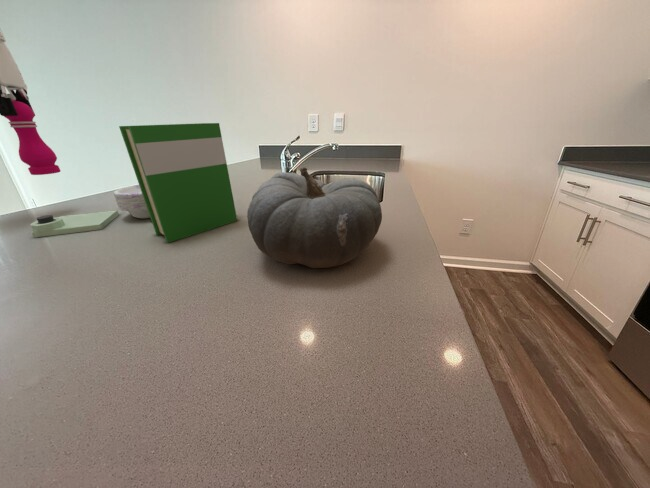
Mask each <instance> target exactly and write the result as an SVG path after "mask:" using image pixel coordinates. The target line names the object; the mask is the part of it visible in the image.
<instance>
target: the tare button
mask: <svg viewBox="0 0 650 488" xmlns="http://www.w3.org/2000/svg"><path fill="white" fill-rule="evenodd" d="M54 218H55V217H53V215H52V214H46V215H40V216H37V217H36V221H38V222H39V224H45V223H49V222H53V221H55V220H54Z"/></svg>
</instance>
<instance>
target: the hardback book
mask: <svg viewBox="0 0 650 488" xmlns="http://www.w3.org/2000/svg"><path fill="white" fill-rule="evenodd" d="M220 126H221V125H220V123H219V122H207V123H206V122H202V123H201V122H199V123H198V122H197V123H174V124H173V123H172V124H170V123H169V124H146V125H144V124H143V125H142V124H141V125H119V126H118V128H119V130H120V133H121V136H122V139H123V142H124V145H125V148H126V152H127V153H128V156H129V160H130V162H131V163H130V164H131V165H132V168H133V171H134V174H135V177H136V180H137V183H138V185H139V186H140V189H141V192H142V194H143V197H144V200H145V203H146V206H147V209H148V212H149V215H150V218H149V219H150V220H151V223H152V226H153V230H154V232H155V235H156V236H164V238H165V241H166V243H168V244H170V243H172V242H176V241H179V240H182V239H186V238H188V237H190V236H191V237H192V236H194V235H197V234H201V233H203V232H207V231H210V230H213V229H215V228H219V227H223V226H225V225H229V224H231V223H234V222H237V221H238V217H237V216H238V215H237V211H236V206H235V201H234V195H233V190H232V184H231V180H230V174H229V169H228V164H227V163H228V162H227V158H226V152H225V147H224V142H223V137H222V131H221V127H220Z"/></svg>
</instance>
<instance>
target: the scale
mask: <svg viewBox="0 0 650 488" xmlns="http://www.w3.org/2000/svg"><path fill="white" fill-rule="evenodd" d="M119 215H120V214H119V211H118V210H117V209H116V210H108V211H106V210H105V211H99V212H88V213H79V214H78V213H77V214H70V215H69V214H68V215H61V216H60V215H59V216H57V217H53V218H54V220H55V221H53V222H49V223H45V224H39V222H38V221H37V220H35V221H33V222H32V223H30V227H31V229H32V231H31V232H30V233H31V235H32V237H33V238H43V237H49V236H50V237H51V236H57V235H58V236H59V235H66V234H67V235H68V234H75V233H76V234H77V233H83V232H91V231H99V230H103V229H104V228H105V227H106V226H108V225H109V224H110V223H111V222H112V221H114V220H115V219H116V218H117V217H118V216H119Z"/></svg>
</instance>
